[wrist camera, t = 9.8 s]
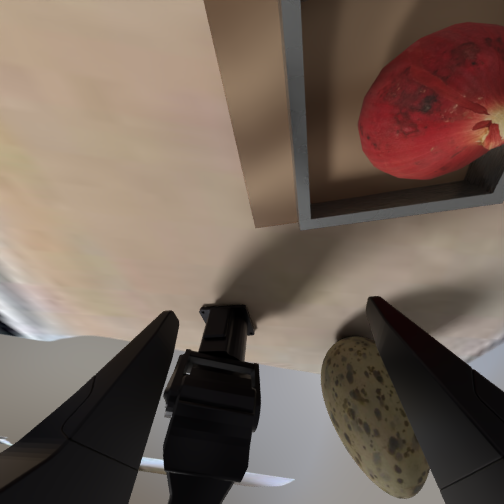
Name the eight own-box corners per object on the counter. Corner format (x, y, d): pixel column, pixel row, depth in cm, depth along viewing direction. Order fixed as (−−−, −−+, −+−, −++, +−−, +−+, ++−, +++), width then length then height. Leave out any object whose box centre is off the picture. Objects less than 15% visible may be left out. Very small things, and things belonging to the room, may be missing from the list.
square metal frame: (472, 188, 15) (502, 203, 13) (296, 215, 18) (300, 230, 16) (606, -130, 8) (717, -205, 6) (276, -14, 10) (277, -40, 8)
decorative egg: (361, 364, 35) (409, 507, 23) (301, 350, 33) (318, 493, 21) (410, 330, 28) (512, 504, 16) (338, 311, 27) (391, 484, 15)
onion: (324, 136, 14) (364, 171, 8) (391, 19, 11) (560, -93, 4) (394, 173, 15) (481, 231, 9) (476, 76, 12) (718, 53, 5)
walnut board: (509, 182, 16) (528, 189, 15) (256, 220, 20) (255, 228, 19) (694, -174, 8) (767, -220, 7) (208, 1, 12) (201, -10, 11)
